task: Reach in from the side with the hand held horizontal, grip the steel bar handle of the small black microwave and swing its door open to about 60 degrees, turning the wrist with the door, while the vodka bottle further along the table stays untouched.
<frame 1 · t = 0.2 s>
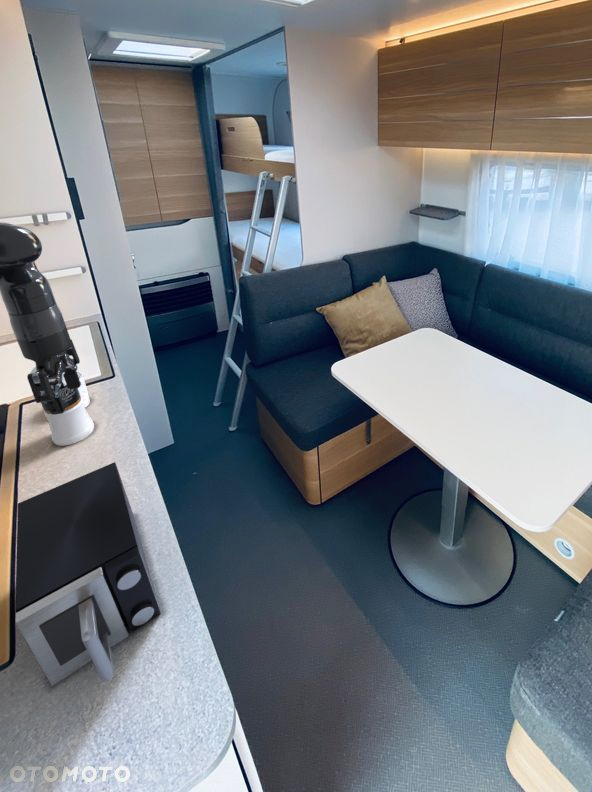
hand: (67, 399, 83), 26 cm above the worktop, tool pointing down, fingers open, 8 cm apart
white cup: (77, 407, 122), on the worktop
microwave: (100, 584, 74), on the worktop
vodka: (75, 435, 111), on the worktop
microwave door: (79, 645, 59), point 8 cm above the worktop, hinge at 0.0°
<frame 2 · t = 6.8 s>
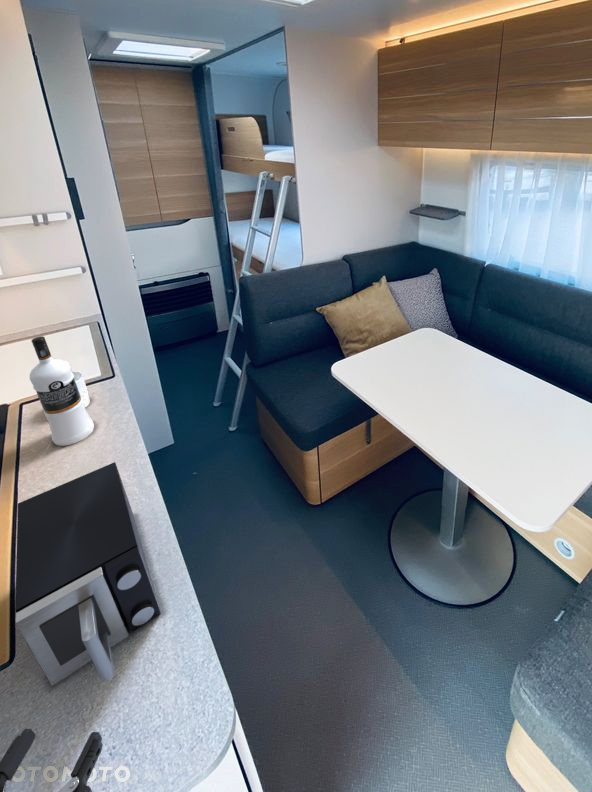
hand: (64, 733, 50), 8 cm above the worktop, tool horizontal, fingers open, 8 cm apart
nothing on the worktop moved.
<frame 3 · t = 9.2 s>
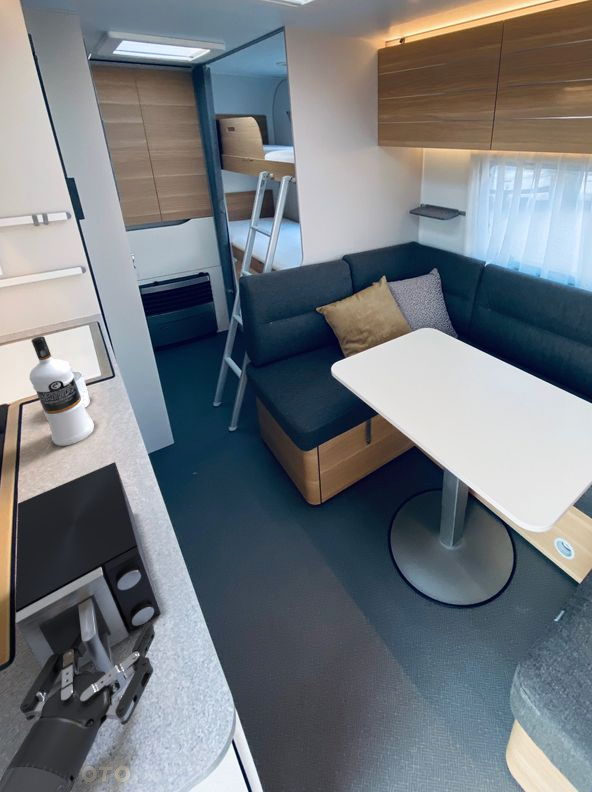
hand: (123, 624, 61), 8 cm above the worktop, tool horizontal, fingers open, 8 cm apart
microwave door: (79, 645, 59), point 8 cm above the worktop, hinge at 0.0°, touching gripper
everything else where it was.
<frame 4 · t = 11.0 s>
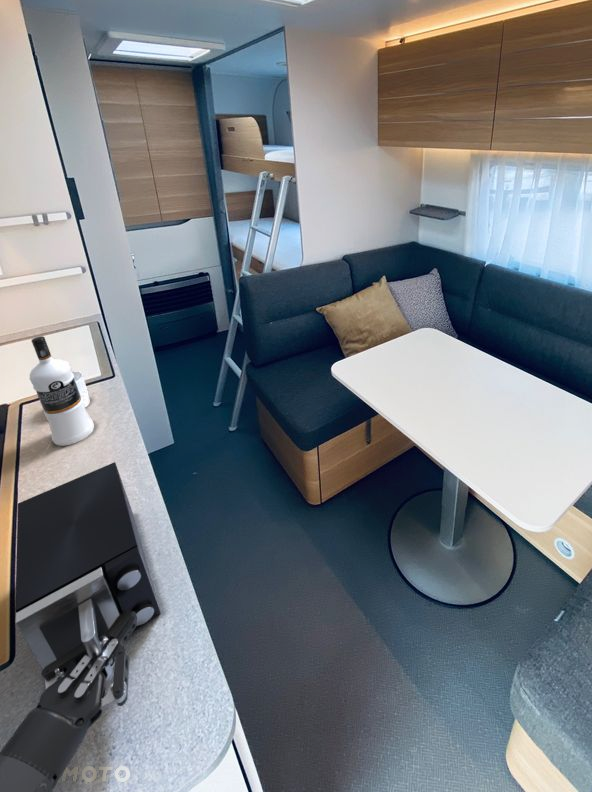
hand: (132, 613, 63), 8 cm above the worktop, tool horizontal, fingers closed
microwave door: (79, 646, 59), point 8 cm above the worktop, hinge at 0.6°, touching gripper
everything else where it was.
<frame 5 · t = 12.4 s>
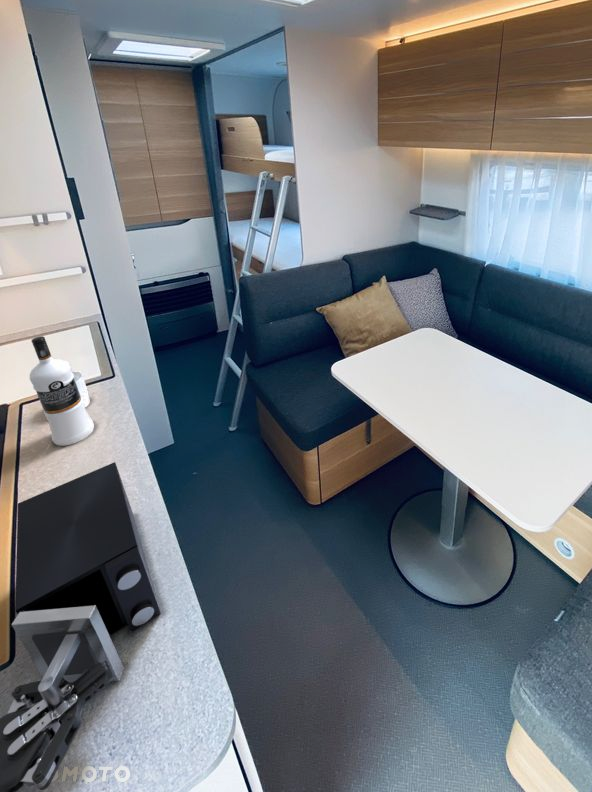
hand: (109, 668, 56), 8 cm above the worktop, tool horizontal, fingers closed
microwave door: (57, 675, 56), point 8 cm above the worktop, hinge at 34.3°, touching gripper
everything else where it was.
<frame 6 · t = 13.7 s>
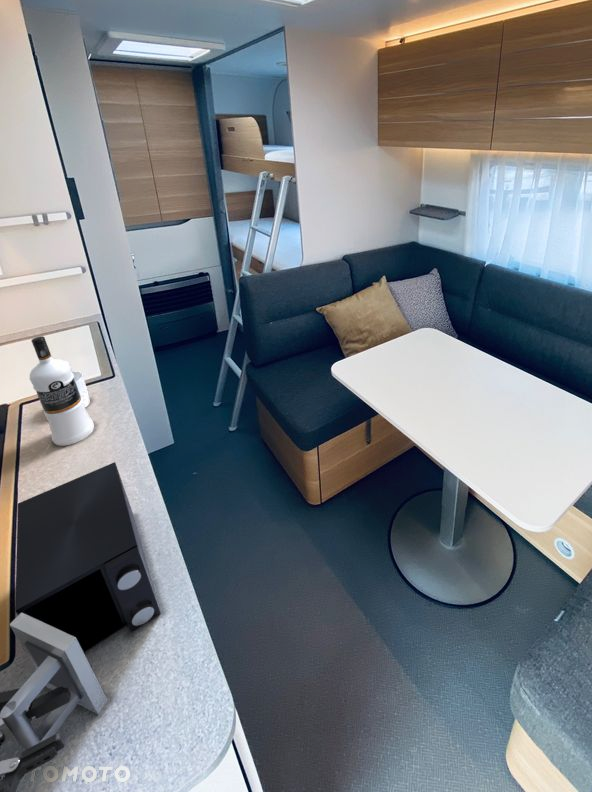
hand: (65, 716, 52), 8 cm above the worktop, tool horizontal, fingers open, 4 cm apart
microwave door: (37, 692, 54), point 8 cm above the worktop, hinge at 56.1°
everything else where it was.
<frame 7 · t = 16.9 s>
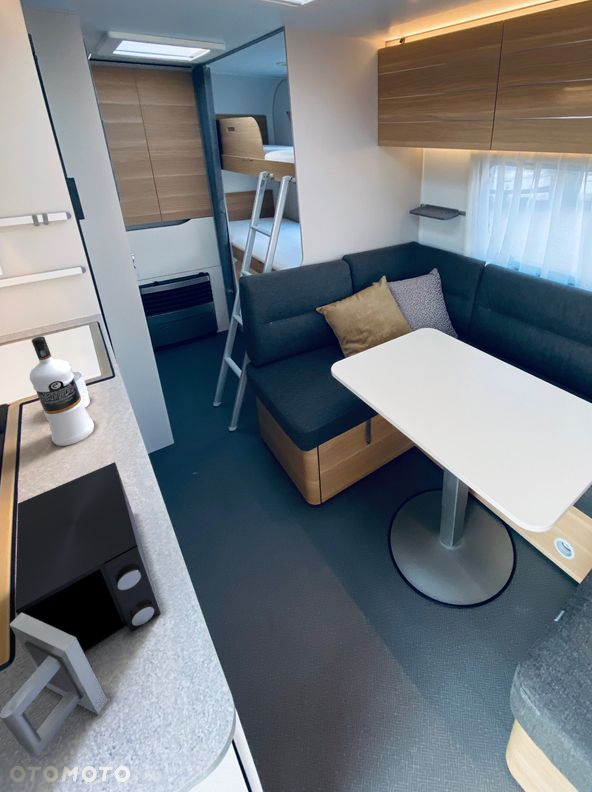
nothing on the worktop moved.
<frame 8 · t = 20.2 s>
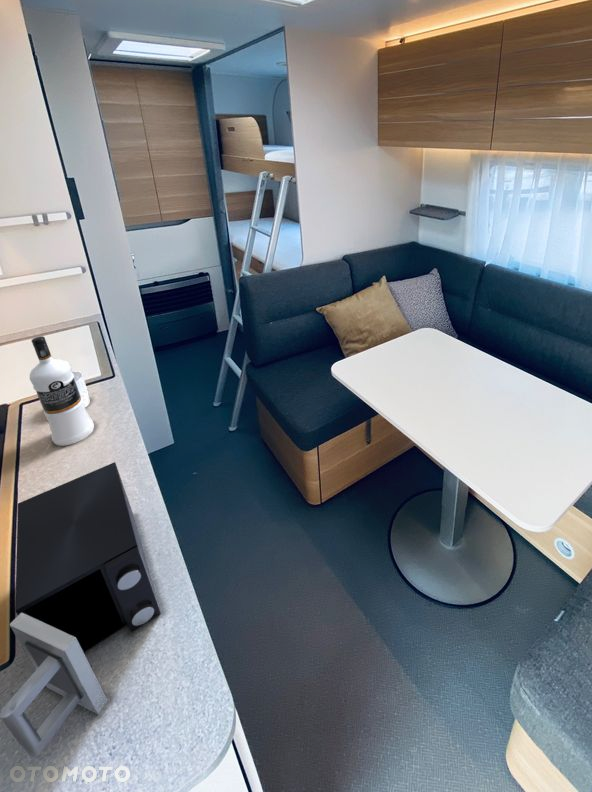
nothing on the worktop moved.
at the end: microwave door at +56° (first picture: +0°); vodka moved 0.2 cm from its start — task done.
